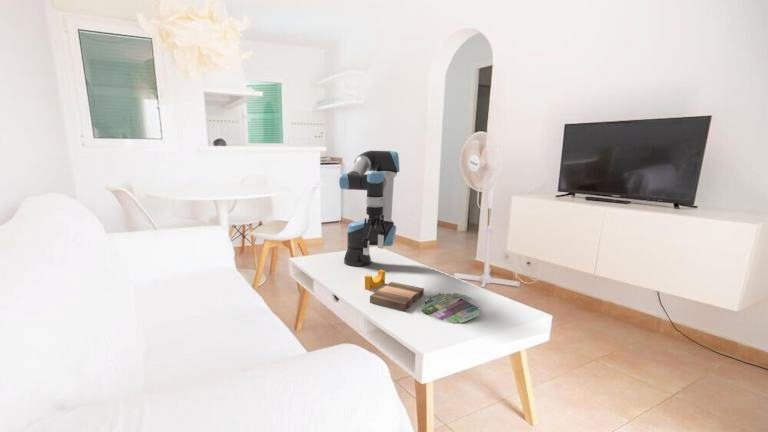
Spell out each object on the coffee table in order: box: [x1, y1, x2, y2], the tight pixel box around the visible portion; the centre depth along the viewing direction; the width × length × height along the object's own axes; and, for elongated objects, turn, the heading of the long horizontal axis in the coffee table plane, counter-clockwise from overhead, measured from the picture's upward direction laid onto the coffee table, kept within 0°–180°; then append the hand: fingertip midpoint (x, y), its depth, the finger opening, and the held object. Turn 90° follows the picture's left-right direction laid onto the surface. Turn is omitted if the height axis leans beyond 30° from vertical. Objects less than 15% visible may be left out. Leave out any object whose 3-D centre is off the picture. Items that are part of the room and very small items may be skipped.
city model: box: [421, 292, 481, 325], centre depth 149 cm, size 25×23×6 cm
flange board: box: [369, 281, 425, 312], centre depth 160 cm, size 20×16×3 cm
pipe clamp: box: [364, 269, 386, 291], centre depth 174 cm, size 12×4×6 cm, turn 144°
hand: (373, 251), depth 172 cm, fingers open, 13 cm apart
